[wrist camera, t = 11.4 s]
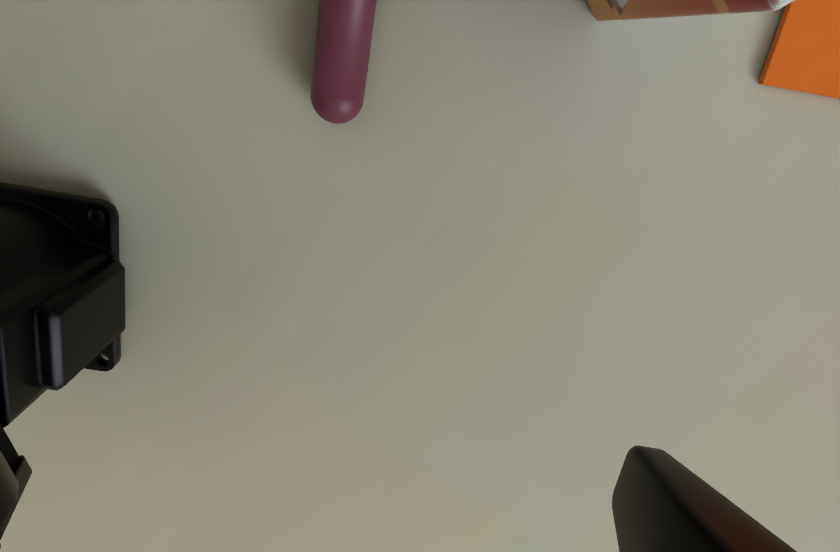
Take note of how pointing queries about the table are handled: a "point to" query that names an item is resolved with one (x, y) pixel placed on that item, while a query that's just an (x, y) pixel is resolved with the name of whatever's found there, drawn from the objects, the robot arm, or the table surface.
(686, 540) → the robot arm
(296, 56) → the table surface
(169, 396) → the table surface
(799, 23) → the orange flat block
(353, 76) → the spatula
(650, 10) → the small box
